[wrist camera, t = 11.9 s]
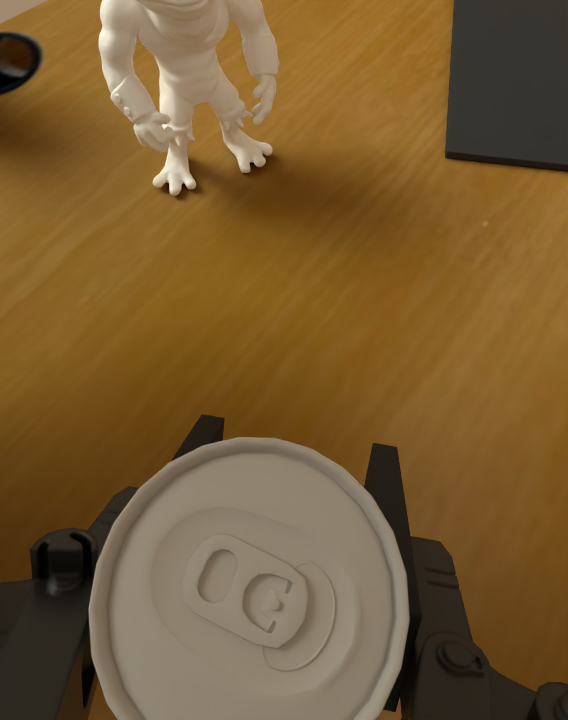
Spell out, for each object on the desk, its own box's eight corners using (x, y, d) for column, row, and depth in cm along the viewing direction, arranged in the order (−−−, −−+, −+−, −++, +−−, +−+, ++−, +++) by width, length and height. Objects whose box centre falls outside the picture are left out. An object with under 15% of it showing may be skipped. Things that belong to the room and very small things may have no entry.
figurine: (263, 116, 40) (247, -133, 26) (296, 173, 37) (296, -71, 23) (131, 156, 38) (41, -87, 25) (155, 218, 35) (69, -15, 22)
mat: (612, 176, 36) (616, 170, 36) (444, 157, 37) (446, 151, 37) (588, -3, 45) (592, -11, 45) (454, -14, 46) (456, -21, 46)
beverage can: (310, 696, 17) (345, 897, 6) (183, 628, 18) (6, 691, 7) (361, 554, 18) (462, 503, 8) (244, 500, 19) (182, 383, 8)
